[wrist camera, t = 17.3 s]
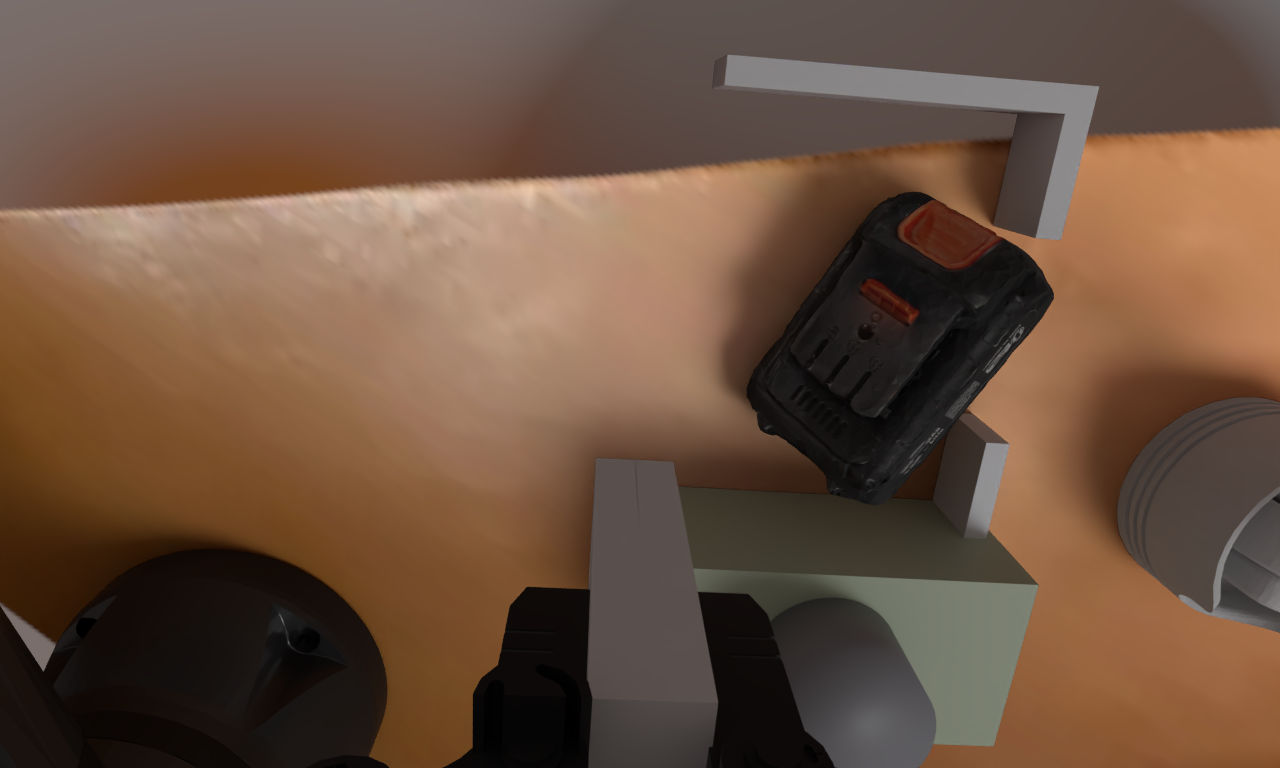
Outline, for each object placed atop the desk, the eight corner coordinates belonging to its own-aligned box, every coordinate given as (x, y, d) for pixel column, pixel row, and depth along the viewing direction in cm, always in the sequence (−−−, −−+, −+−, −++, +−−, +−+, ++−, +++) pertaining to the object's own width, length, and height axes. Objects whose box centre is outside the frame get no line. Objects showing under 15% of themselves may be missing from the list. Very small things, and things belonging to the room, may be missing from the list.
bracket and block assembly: (658, 629, 39) (675, 816, 29) (714, 61, 31) (768, 33, 20) (930, 641, 40) (1042, 826, 30) (1059, 90, 31) (1281, 78, 21)
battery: (955, 209, 34) (886, 145, 29) (1111, 320, 30) (1060, 266, 24) (782, 407, 39) (696, 380, 34) (893, 533, 34) (812, 524, 29)
